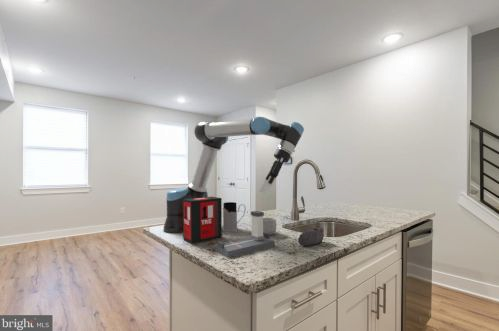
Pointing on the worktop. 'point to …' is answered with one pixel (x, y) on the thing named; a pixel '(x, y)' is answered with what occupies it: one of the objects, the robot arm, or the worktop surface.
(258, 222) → the fader knob
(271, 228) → the teacup
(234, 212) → the glass holder
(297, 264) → the worktop surface
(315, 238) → the perforated stone tool
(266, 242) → the fader console
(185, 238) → the cleaning product box
